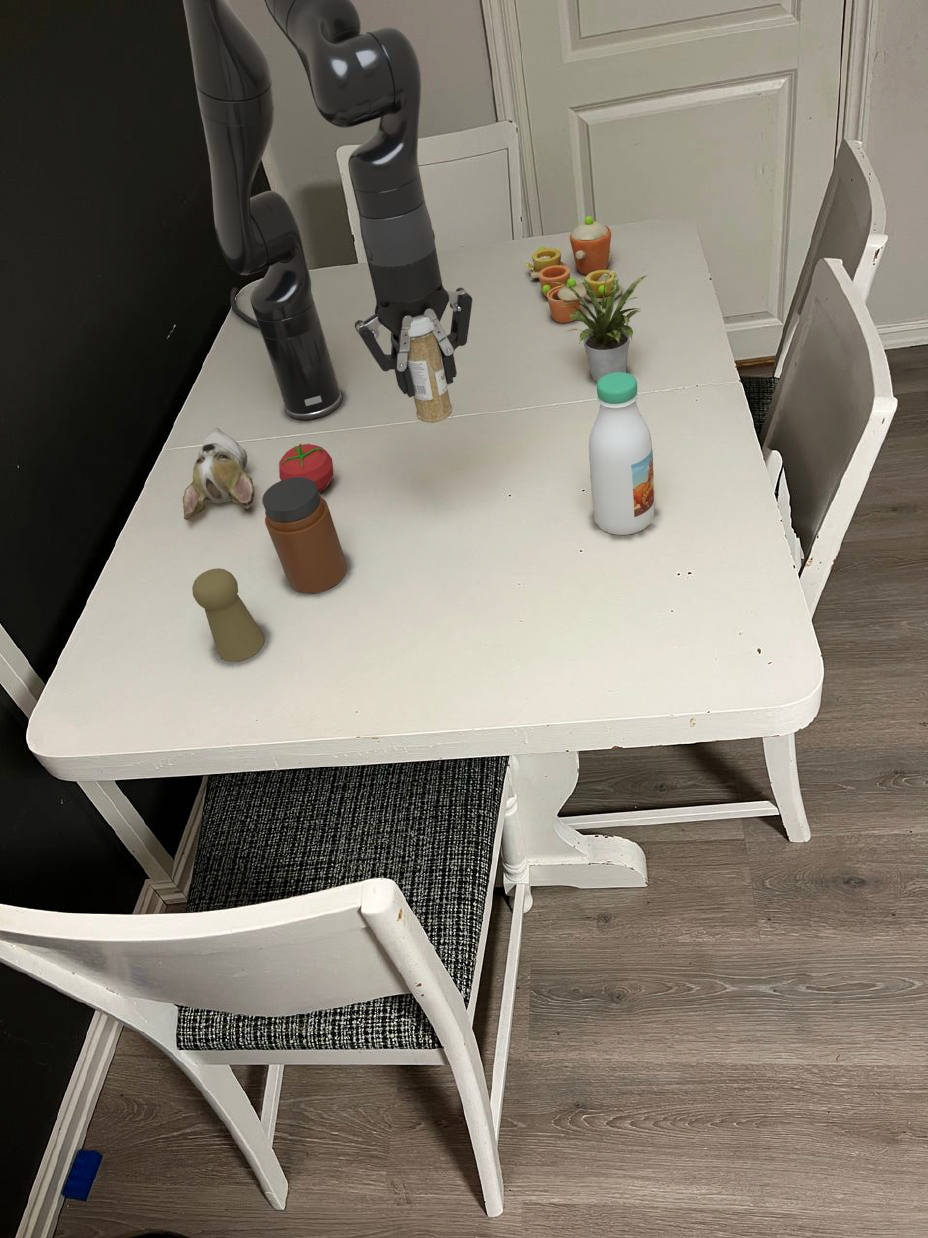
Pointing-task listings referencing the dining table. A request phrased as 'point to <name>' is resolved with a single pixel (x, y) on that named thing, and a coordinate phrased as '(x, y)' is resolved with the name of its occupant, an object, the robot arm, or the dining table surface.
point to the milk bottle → (621, 459)
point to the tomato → (307, 465)
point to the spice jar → (427, 372)
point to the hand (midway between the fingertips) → (428, 386)
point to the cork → (227, 616)
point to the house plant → (605, 330)
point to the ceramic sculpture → (218, 475)
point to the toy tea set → (590, 260)
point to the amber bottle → (304, 535)
